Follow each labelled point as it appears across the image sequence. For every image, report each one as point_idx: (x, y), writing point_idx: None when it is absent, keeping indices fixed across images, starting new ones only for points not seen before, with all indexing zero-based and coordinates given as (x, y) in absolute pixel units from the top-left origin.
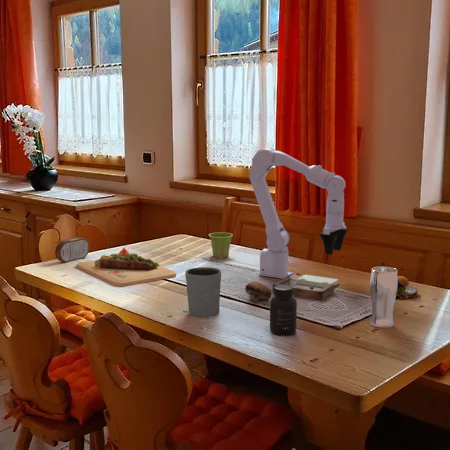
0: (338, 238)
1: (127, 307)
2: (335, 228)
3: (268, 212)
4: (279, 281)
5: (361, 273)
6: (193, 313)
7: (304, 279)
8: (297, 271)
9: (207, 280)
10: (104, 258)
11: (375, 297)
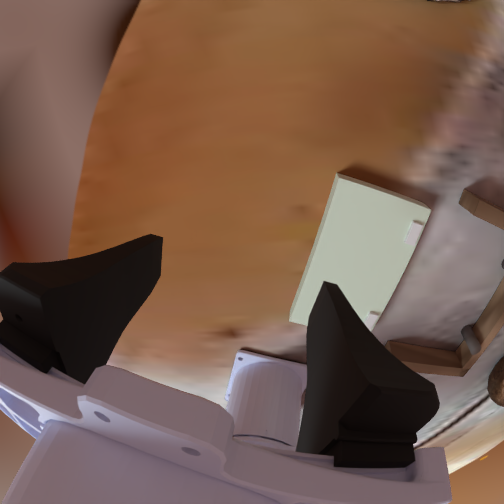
0: (109, 305)
1: (480, 454)
2: (361, 493)
3: None
4: (437, 372)
5: (114, 100)
6: None
7: (377, 315)
8: (193, 335)
9: None
10: None
11: None
